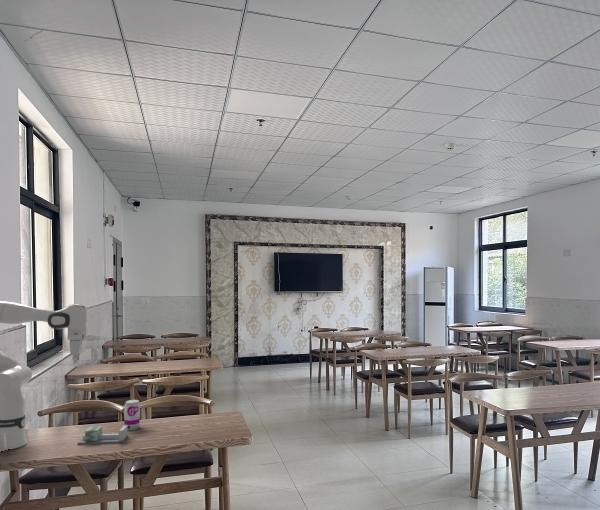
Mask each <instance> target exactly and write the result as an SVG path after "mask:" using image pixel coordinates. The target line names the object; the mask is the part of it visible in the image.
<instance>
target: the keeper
mask: <svg viewBox="0 0 600 510" xmlns="http://www.w3.org/2000/svg"><path fill="white" fill-rule="evenodd" d="M99 434H103V425H93V426H89V427H88V428H87V429H85V431H84V435H85V441H97V440H98V436H99Z"/></svg>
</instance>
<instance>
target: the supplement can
mask: <svg viewBox="0 0 600 510" xmlns="http://www.w3.org/2000/svg"><path fill="white" fill-rule="evenodd" d="M123 410H124V415H123V416H124V417H123V418H124V419H123V420H124V421H123V422H124V423H123V426H128V431H134V430H137V429H139V428H140V426H141V420H140V419H141V402H140V400H139V399H129V400H126V401H125V403H124V409H123Z"/></svg>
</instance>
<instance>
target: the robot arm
mask: <svg viewBox="0 0 600 510" xmlns="http://www.w3.org/2000/svg"><path fill="white" fill-rule="evenodd" d="M87 312H88V311H87V307H86V306H85V305H83V304H77V303H71V304H69V305H68V306H66V307H64V308H61V309H59V310H49V309H42V308H36V307H32V306H29V305H25V304H22V303H18V302H13V301H4V300H2V301H1V300H0V324H1V323H2V324H7V325H8V324H9V325H11V324H12V325H13V324H14V325H16V324H17V325H19V324H24V323H30V322H43V323H44V322H46V323H47V325H48V326H49V328H51V329H53V330H61V329H67V337H66V339H67V341H69V353H70V356H72V363H73V364H78V361H79V360H80V355H81V352H82V350H83V342H84V339H87V321H88V319H87V316H88V315H87V314H88V313H87ZM32 376H33V370H32V369H31V367H29V366H28V365H24V364H21V363H20V362H18V361H16V360H15V359H13V358H11V357H10V356H8V355H7V354H5V353H4V352H3V351H2V350H1V349H0V453H2V452H1V451H3V452H6V451H9V450H8V449H10V450H13V449H17V448H21V447H23V446H25V445H26V444H28V441H27V437H26V431H25V430H26V428H25V427H26V414H25V407H26V403H25V402H26V400H25V398H24V396H23V394H22V391H21V388H22V387H23V386H25V385H26V384H27V383H29V382H30V380H31V378H32ZM5 450H6V451H5Z"/></svg>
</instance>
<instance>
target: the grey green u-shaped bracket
mask: <svg viewBox="0 0 600 510" xmlns="http://www.w3.org/2000/svg"><path fill="white" fill-rule="evenodd" d="M128 431H129V430H128V426H124V425H123V426H122V427H121V428H120V429H119V430H118V433H102V434H99V436H98V440H97V441H85V434H83V435H82V439H80V440H79V441H78V442H77V446H78V445H79V446H83V445H87V446H88V445H106V444H107V445H108V444H110V445H111V444H113V445H114V444H123V443H124V442H125V441H126V439H128V437H129V434H128Z"/></svg>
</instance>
